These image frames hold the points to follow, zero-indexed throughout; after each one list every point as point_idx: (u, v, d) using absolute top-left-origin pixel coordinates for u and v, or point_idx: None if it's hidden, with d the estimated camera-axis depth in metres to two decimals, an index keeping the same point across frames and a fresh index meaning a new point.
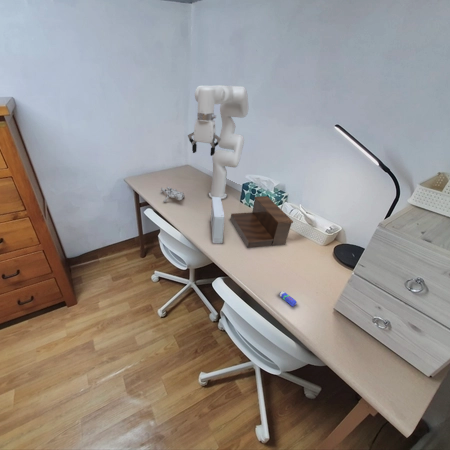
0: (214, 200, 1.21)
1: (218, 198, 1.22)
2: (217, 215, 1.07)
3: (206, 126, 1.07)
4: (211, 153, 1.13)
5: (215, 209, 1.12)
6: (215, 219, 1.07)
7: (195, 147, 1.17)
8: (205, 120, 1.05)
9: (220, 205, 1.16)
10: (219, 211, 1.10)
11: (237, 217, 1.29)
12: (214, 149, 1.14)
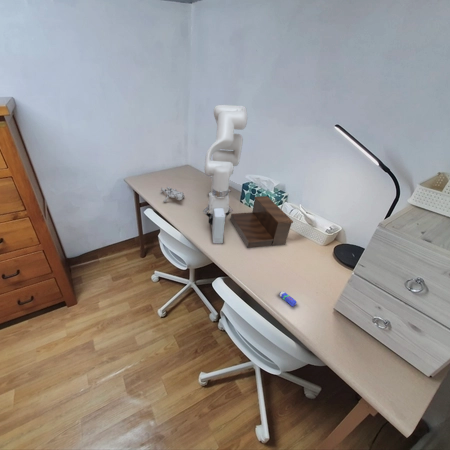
0: None
1: None
2: (218, 215, 1.07)
3: (224, 200, 1.11)
4: None
5: (216, 209, 1.12)
6: (216, 219, 1.07)
7: None
8: (224, 196, 1.09)
9: None
10: (220, 211, 1.10)
11: (237, 217, 1.29)
12: None
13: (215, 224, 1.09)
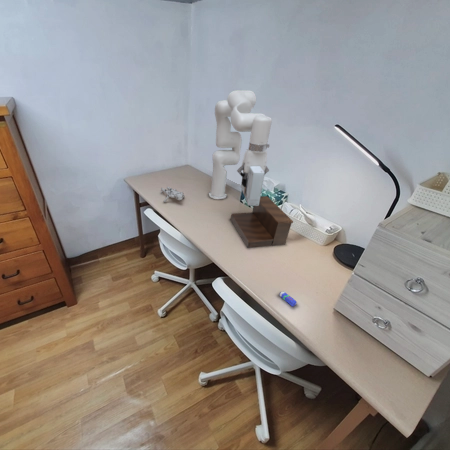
0: None
1: None
2: (256, 171, 0.96)
3: (261, 157, 1.00)
4: None
5: (252, 167, 1.01)
6: (254, 176, 0.96)
7: None
8: (263, 151, 0.98)
9: None
10: (257, 168, 1.00)
11: (237, 217, 1.29)
12: None
13: (253, 182, 0.98)
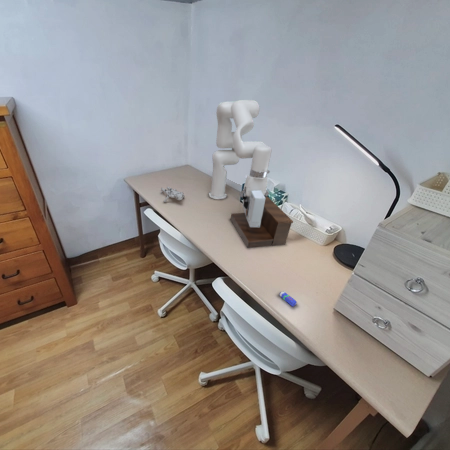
0: None
1: None
2: (257, 197, 1.03)
3: (262, 182, 1.07)
4: None
5: (253, 191, 1.08)
6: (255, 201, 1.03)
7: None
8: (264, 177, 1.05)
9: None
10: (258, 193, 1.06)
11: (237, 217, 1.29)
12: None
13: (254, 206, 1.04)
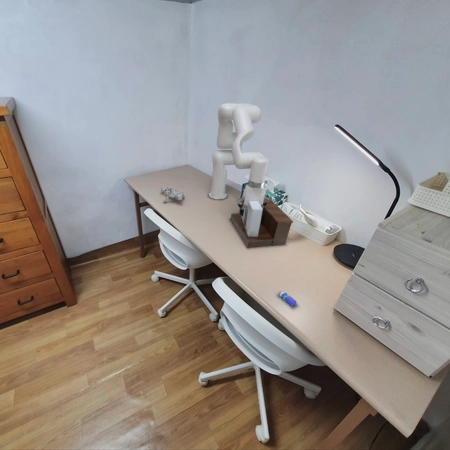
0: None
1: None
2: (255, 208, 1.06)
3: (260, 192, 1.10)
4: None
5: (251, 202, 1.11)
6: (253, 212, 1.06)
7: None
8: (261, 188, 1.07)
9: None
10: (256, 204, 1.09)
11: (237, 217, 1.29)
12: None
13: (252, 217, 1.07)
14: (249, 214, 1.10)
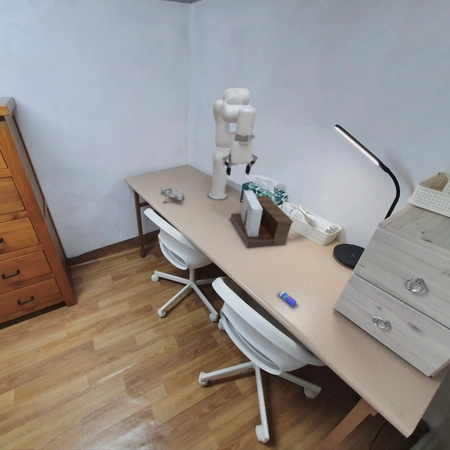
0: (247, 193, 1.19)
1: (250, 191, 1.21)
2: (255, 208, 1.06)
3: (247, 147, 1.03)
4: (248, 172, 1.11)
5: (251, 202, 1.11)
6: (253, 212, 1.06)
7: None
8: (248, 142, 1.01)
9: (255, 198, 1.14)
10: (256, 204, 1.09)
11: (237, 217, 1.29)
12: None
13: (252, 217, 1.07)
14: (249, 214, 1.10)
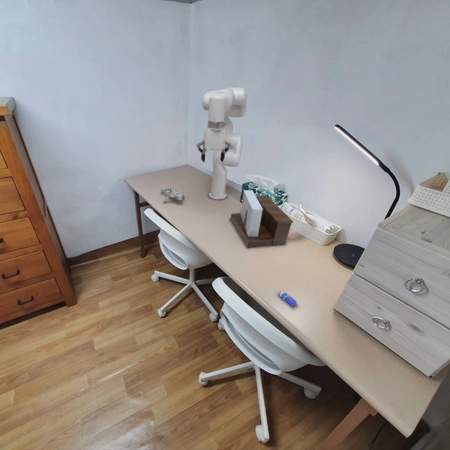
0: (247, 193, 1.19)
1: (250, 191, 1.21)
2: (255, 208, 1.06)
3: (219, 134, 1.08)
4: (223, 159, 1.15)
5: (251, 202, 1.11)
6: (253, 212, 1.06)
7: None
8: (220, 128, 1.05)
9: (255, 198, 1.14)
10: (256, 204, 1.09)
11: (237, 217, 1.29)
12: None
13: (252, 217, 1.07)
14: (249, 214, 1.10)
